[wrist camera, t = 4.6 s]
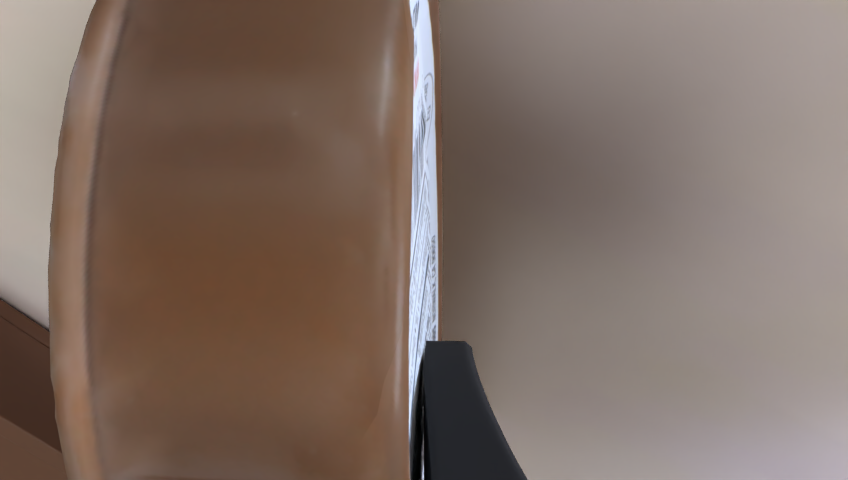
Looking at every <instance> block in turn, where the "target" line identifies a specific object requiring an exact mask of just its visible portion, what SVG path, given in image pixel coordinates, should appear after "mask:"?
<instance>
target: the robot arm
mask: <svg viewBox="0 0 848 480" xmlns="http://www.w3.org/2000/svg"><path fill="white" fill-rule="evenodd" d="M423 416H424V480H527V478H526V476H525V474H524V473H523V471H522V469H521V467H520V466H519V464H518V462H517V460H516V458H515V456H514V455H513V453H512V451H511V449H510V447H509V445H508V443H507V441H506V439H505V437H504V435H503V433H502V430H501V428H500V426H499V424H498V422H497V420H496V418H495V416H494V414H493V411H492V409H491V407H490V404H489V402H488V400H487V397H486V394H485V392H484V389H483V387H482V384H481V381H480V378H479V375H478V372H477V369H476V365H475V361H474V357H473V352H472V347H471V346H470V345H468V344H467V343H466V342H465V341H426V346H425V355H424V366H423Z"/></svg>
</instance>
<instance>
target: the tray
mask: <svg viewBox="0 0 848 480" xmlns="http://www.w3.org/2000/svg"><path fill="white" fill-rule="evenodd" d="M0 480H68V478H67V474H66V470H65V465H64V460H63V455H62V449H61V444H60V438H59V433H58V427H57V423H56V419H55V398H54V390H53V385H52V381H51V371H50V332H49V331H47V330H46V329H44V328H43V327H41V326H40V325H38V324H37V323H35V322H34V321H32V320H31V319H29V318H28V317H26V316H25V315H23V314H22V313H20V312H19V311H17V310H16V309H14V308H13V307H11V306H10V305H8V304H7V303H5V302H4V301H2V300H1V299H0Z"/></svg>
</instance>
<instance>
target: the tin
mask: <svg viewBox="0 0 848 480" xmlns="http://www.w3.org/2000/svg"><path fill="white" fill-rule="evenodd" d="M50 232H51V236H50V250H49V264H48V289H49V329H50V371H51V381H52V385H53V390H54V398H55V419H56V423H57V427H58V433H59V438H60V444H61V449H62V455H63V460H64V465H65V470H66V474H67V478H68V480H424V416H423V366H424V355H425V346H426V341H442V295H443V185H442V94H441V45H440V15H439V0H97V1H96V3H95V5H94V7H93V9H92V11H91V14H90V16H89V19H88V22H87V24H86V28H85V31H84V35H83V38H82V42H81V45H80V49H79V52H78V56H77V59H76V61H75V64H74V67H73V70H72V73H71V76H70V81H69V88H68V93H67V97H66V101H65V107H64V114H63V121H62V126H61V131H60V137H59V146H58V157H57V162H56V167H55V176H54V192H53V204H52V214H51V223H50Z"/></svg>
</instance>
